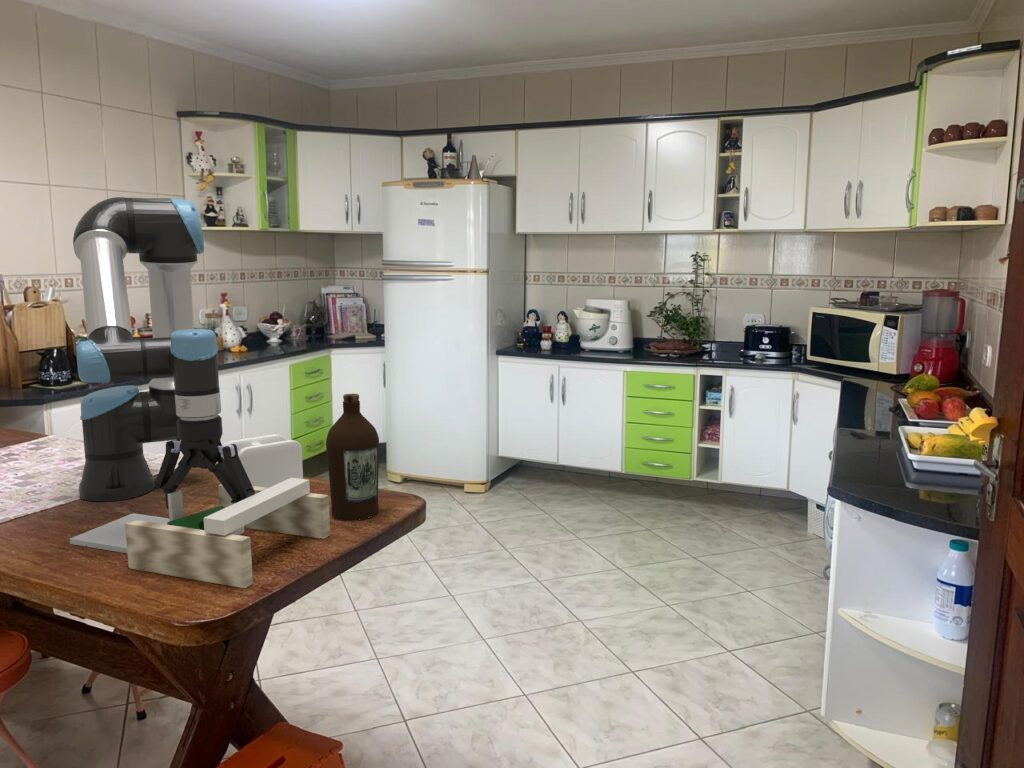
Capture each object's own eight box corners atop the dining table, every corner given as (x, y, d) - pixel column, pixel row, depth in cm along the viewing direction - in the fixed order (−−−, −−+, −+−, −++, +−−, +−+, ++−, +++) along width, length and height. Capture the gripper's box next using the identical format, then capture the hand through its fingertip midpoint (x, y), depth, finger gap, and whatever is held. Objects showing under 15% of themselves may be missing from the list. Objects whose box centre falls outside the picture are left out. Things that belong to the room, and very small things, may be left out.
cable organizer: (238, 502, 168) (235, 450, 166) (221, 491, 176) (218, 441, 174) (304, 489, 178) (301, 439, 176) (284, 478, 186) (282, 431, 184)
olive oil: (321, 511, 163) (316, 393, 159) (368, 502, 169) (364, 388, 165) (341, 526, 154) (336, 402, 150) (389, 515, 160) (386, 396, 156)
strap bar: (204, 532, 128) (203, 517, 127) (291, 490, 150) (291, 477, 149) (224, 535, 126) (223, 520, 126) (309, 492, 149) (309, 479, 148)
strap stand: (128, 568, 134) (124, 523, 132) (226, 520, 157) (224, 482, 156) (245, 588, 126) (242, 541, 125) (330, 535, 149) (328, 495, 148)
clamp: (193, 576, 141) (178, 542, 136) (173, 561, 144) (158, 528, 139) (247, 535, 149) (235, 501, 143) (227, 522, 152) (215, 488, 146)
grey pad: (70, 543, 145) (69, 538, 145) (133, 517, 159) (133, 513, 158) (129, 553, 140) (128, 548, 140) (189, 526, 154) (188, 521, 154)
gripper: (127, 415, 140) (137, 529, 143) (243, 425, 132) (250, 545, 135) (159, 408, 147) (167, 516, 150) (270, 416, 139) (277, 531, 142)
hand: (207, 530), depth 143 cm, fingers open, 13 cm apart
